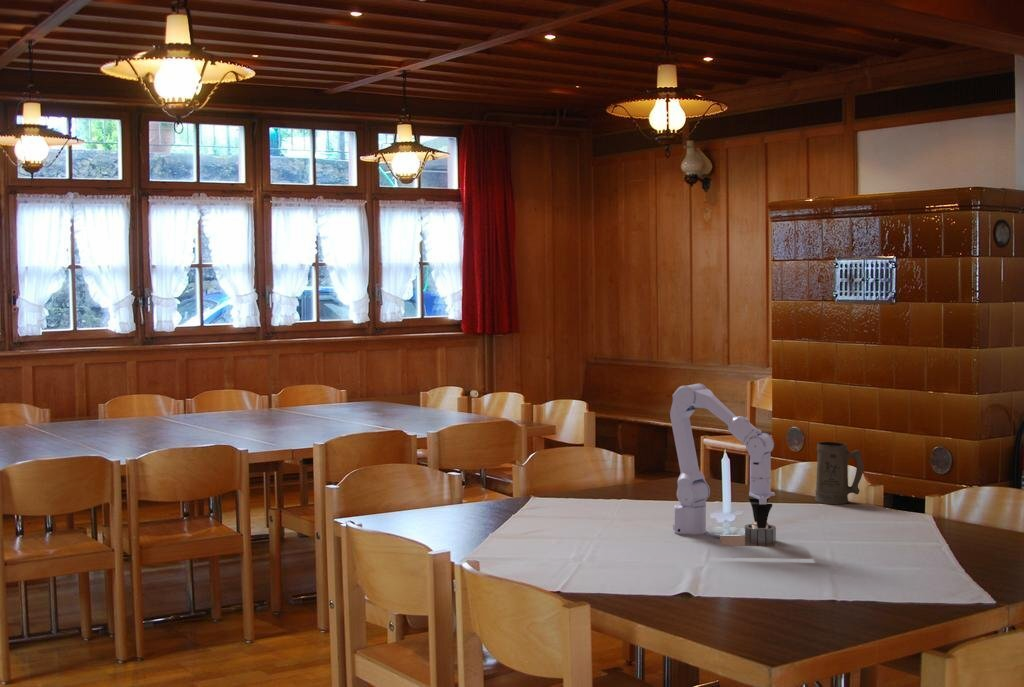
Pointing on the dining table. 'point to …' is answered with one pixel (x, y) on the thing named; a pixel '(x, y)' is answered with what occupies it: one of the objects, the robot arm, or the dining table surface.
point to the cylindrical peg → (754, 525)
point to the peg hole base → (752, 537)
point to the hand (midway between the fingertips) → (760, 525)
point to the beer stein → (835, 473)
